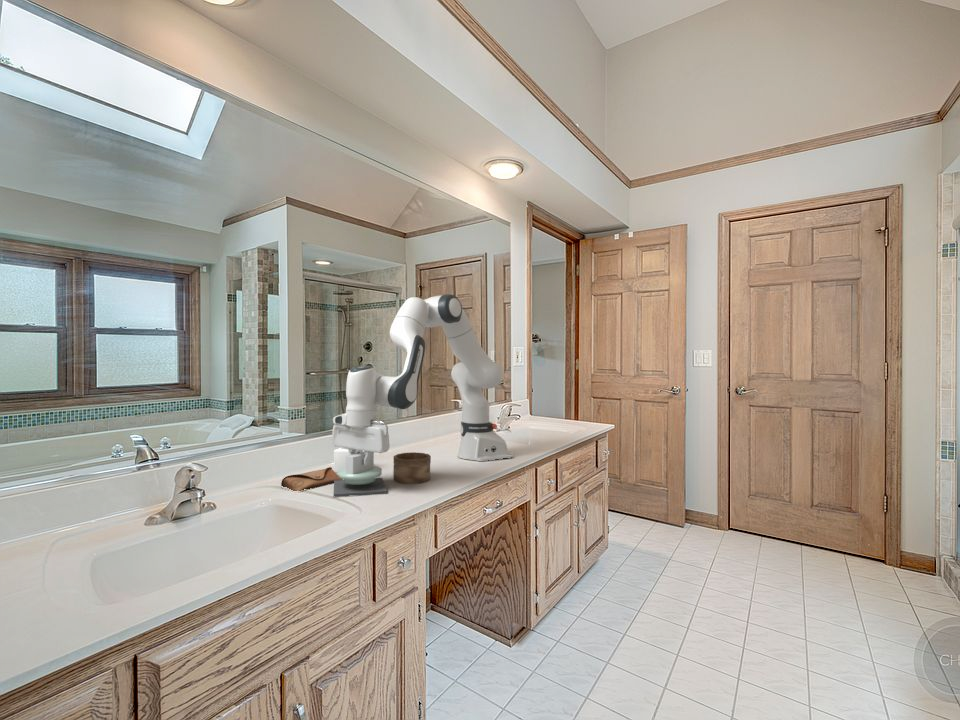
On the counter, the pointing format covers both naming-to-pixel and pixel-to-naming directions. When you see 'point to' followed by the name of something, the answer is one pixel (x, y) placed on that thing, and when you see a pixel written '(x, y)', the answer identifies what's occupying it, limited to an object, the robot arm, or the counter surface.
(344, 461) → the container
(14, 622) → the counter surface
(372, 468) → the lid
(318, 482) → the sunglasses case
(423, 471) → the canister
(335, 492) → the mat
